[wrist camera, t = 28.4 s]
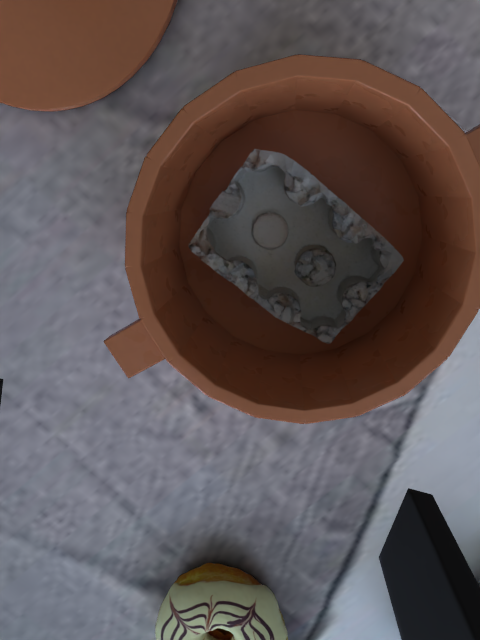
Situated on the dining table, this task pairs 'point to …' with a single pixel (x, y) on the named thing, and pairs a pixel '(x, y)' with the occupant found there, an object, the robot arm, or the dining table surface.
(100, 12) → the lid
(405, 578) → the robot arm
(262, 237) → the egg carton
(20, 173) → the dining table surface
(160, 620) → the decorated donut
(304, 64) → the pot
